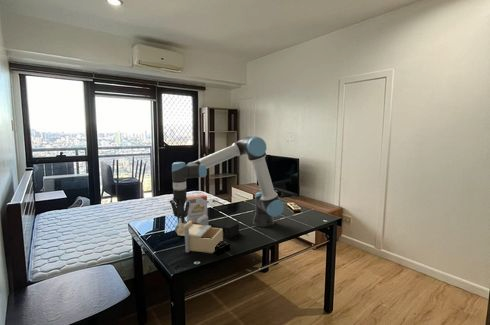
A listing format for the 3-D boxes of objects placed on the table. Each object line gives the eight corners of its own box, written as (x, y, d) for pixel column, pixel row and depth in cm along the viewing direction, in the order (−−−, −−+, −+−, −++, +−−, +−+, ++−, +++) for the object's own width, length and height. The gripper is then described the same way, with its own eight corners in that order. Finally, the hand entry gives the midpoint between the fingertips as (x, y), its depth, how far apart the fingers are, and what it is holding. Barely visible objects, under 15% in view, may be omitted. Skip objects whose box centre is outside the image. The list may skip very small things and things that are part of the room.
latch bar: (206, 216, 165) (206, 214, 164) (198, 223, 153) (198, 220, 153) (204, 216, 165) (204, 214, 165) (196, 222, 154) (196, 220, 153)
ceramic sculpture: (171, 222, 163) (176, 216, 178) (171, 235, 164) (177, 228, 179) (187, 222, 164) (192, 216, 178) (188, 235, 164) (192, 228, 179)
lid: (211, 227, 156) (211, 222, 155) (200, 237, 140) (199, 232, 140) (190, 225, 159) (190, 220, 159) (177, 235, 144) (177, 230, 144)
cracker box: (188, 227, 179) (187, 198, 176) (186, 224, 184) (185, 196, 182) (208, 224, 185) (207, 195, 182) (205, 221, 190) (204, 194, 188)
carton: (228, 234, 164) (227, 214, 163) (211, 255, 137) (210, 231, 136) (206, 232, 168) (205, 212, 167) (185, 252, 141) (184, 228, 140)
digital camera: (232, 231, 170) (232, 221, 169) (239, 233, 167) (238, 223, 166) (222, 237, 161) (222, 226, 161) (228, 239, 158) (228, 228, 157)
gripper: (166, 189, 145) (168, 229, 148) (186, 190, 142) (188, 231, 145) (173, 187, 152) (174, 225, 155) (192, 188, 149) (194, 226, 152)
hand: (181, 228), depth 150 cm, fingers closed
